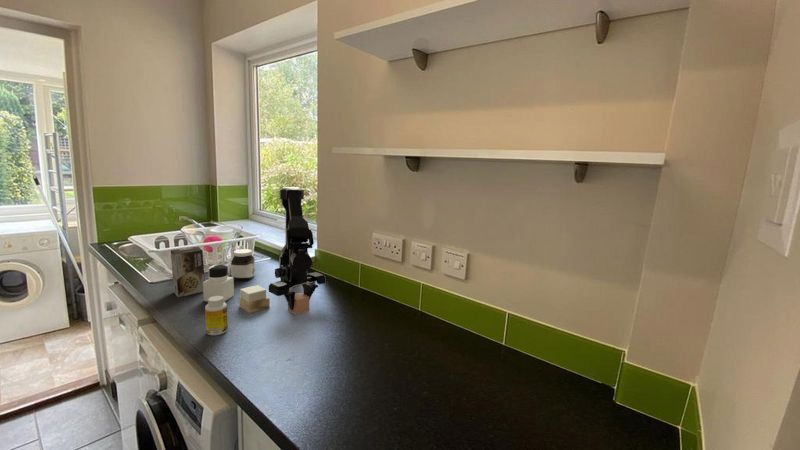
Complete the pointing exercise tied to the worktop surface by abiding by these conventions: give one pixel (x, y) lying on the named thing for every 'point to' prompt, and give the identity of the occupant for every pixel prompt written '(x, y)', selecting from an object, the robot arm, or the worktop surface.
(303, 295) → the terracotta block
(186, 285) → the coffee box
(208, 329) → the supplement bottle
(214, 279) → the medicine bottle
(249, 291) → the cream block
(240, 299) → the oak base block
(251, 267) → the spread jar
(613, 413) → the worktop surface
